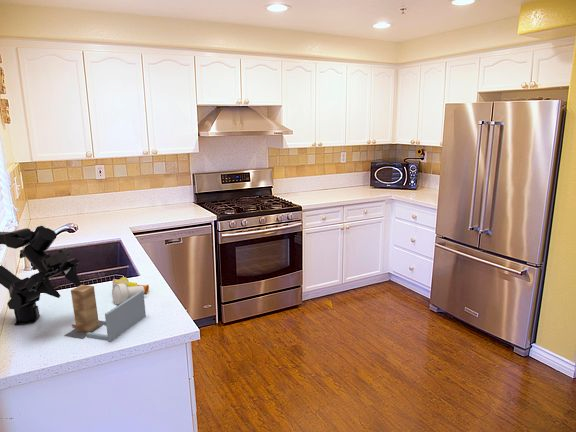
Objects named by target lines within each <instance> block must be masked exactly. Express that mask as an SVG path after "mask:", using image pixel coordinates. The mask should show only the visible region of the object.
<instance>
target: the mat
mask: <svg viewBox="0 0 576 432" xmlns="http://www.w3.org/2000/svg"><path fill="white" fill-rule="evenodd" d="M98 321H99V326H98V327H97V328H95V329H94V330H92V331H91V333H95V332H96V331H97V330H99V329H100V328H102V327H103V326H105V325H104V322H105V321H106V320H100V319H98ZM64 337H69V338H73V339H80V340H84V339H85V338H88V337H87V335H86V332H79V331H77V330H76V327H74V329H72V330H70V331H69V332H67V333H66V334H64Z"/></svg>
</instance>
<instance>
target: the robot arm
mask: <svg viewBox="0 0 576 432" xmlns="http://www.w3.org/2000/svg"><path fill="white" fill-rule="evenodd" d="M56 239H57V233H56V231H55V230H53V229H52V228H49V227H44V225H39V226H37V227H36V228H35V229H34V231H33V230H31V229H30V228H29V227H28V228H27V227H26V228H22V229H18V230H13V231H0V245H5V246H6V247H7V248H10V249H20V248H22V247H24V248H22V249H20V250H19V259H23V258H26V260H28V261H29V262H30V263H31V265H33V266H32V270H33V271H36V270H37V271H38V272H37V273H33V274H31V276H30V277H26V278H23V279H22V278H19V277H18V276H17V275H15V274H14V272H11V271H10V270H9V269H7V268H6V267H5V266H3V265H2V264H1V266H0V285H1V286H3V287H4V288H5V289H7V290H8V294H9V298H10V299H9V300H8V302H7V306H8V309H9V310H13V312H14V317H15V322H14V324H13V325H14V326H17V325H18V326H20V325H27V324H34V323H36V322H37V320H38V319H39V317H40V316H41V314H40V310H39V305H37V302H39V301H40V299H41V293H43V294H46V295H49V296H52V297H54V298H58V299H59V298H61V294H60V293H59V291H58V290H57V289H56V288H55V287H54V286H53V285H52V284H51V282H50V278H52V277H55V276H57V275H59V274H62V275H64V278H66V279H67V280H68V281H69V282H70V283H71V284H73V285H74V286H76V287H78V286H80V285H82V284H81V281H80V279H79V276H78V273H77V272H78V271H77V268H79V264H80V261H79V260H78V259H77V258H74V257H73V258H70V259H69V257H70V256H71V253H70V252H69V250H68V249H67V248H66V247H64V248H62V249H60V250H58V253H56V254H53V253H48V252H47V250H48V249H49V248H50V247H51V246H52V244H53V243H54V242H55V241H56ZM64 261H65V262H64ZM63 262H64V263H63Z"/></svg>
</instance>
